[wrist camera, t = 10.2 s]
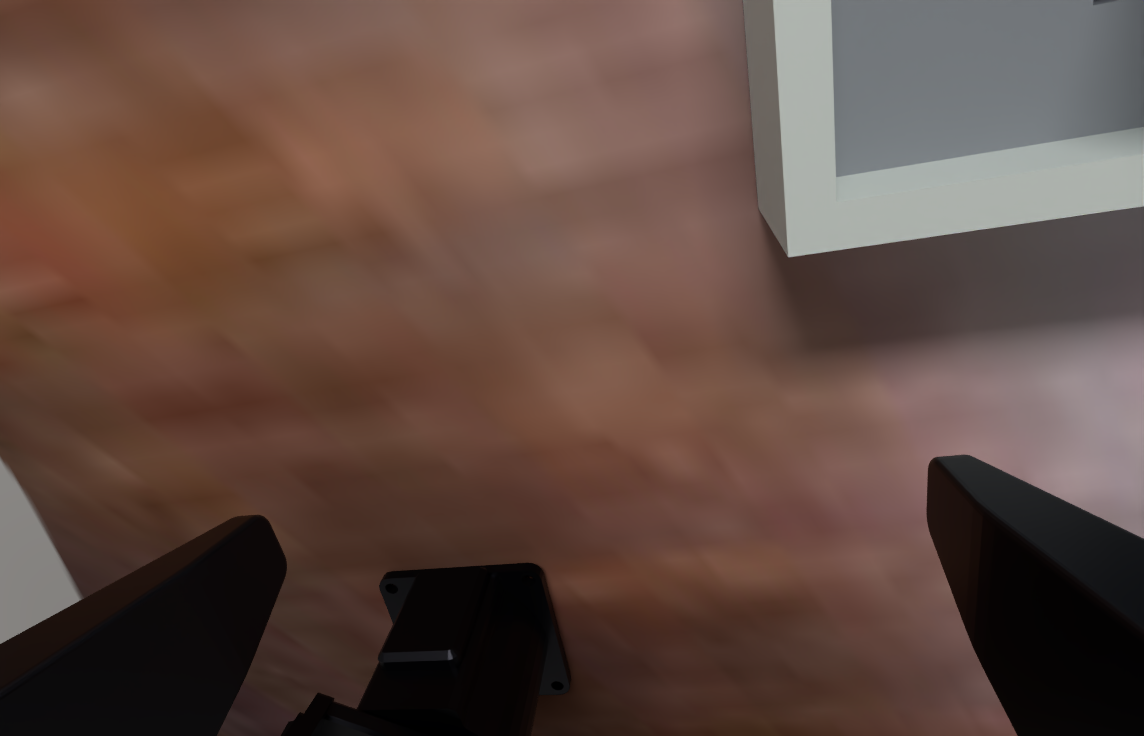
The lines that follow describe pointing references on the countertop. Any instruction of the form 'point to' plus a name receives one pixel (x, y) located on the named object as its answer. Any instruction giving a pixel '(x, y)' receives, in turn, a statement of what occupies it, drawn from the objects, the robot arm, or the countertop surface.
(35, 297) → the countertop surface
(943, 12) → the box
